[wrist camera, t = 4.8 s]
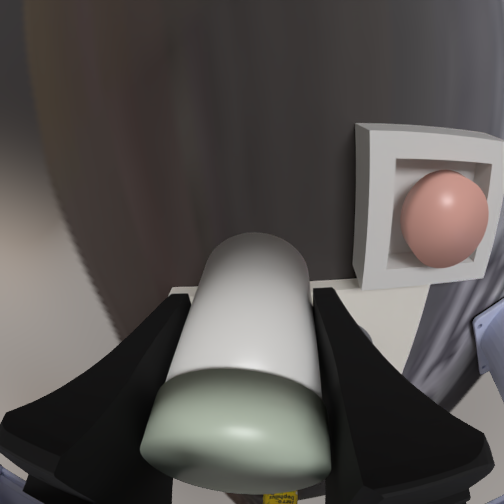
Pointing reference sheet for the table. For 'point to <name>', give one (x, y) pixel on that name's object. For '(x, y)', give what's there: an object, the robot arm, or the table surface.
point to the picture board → (375, 313)
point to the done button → (444, 218)
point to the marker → (245, 378)
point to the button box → (397, 188)
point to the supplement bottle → (281, 498)
